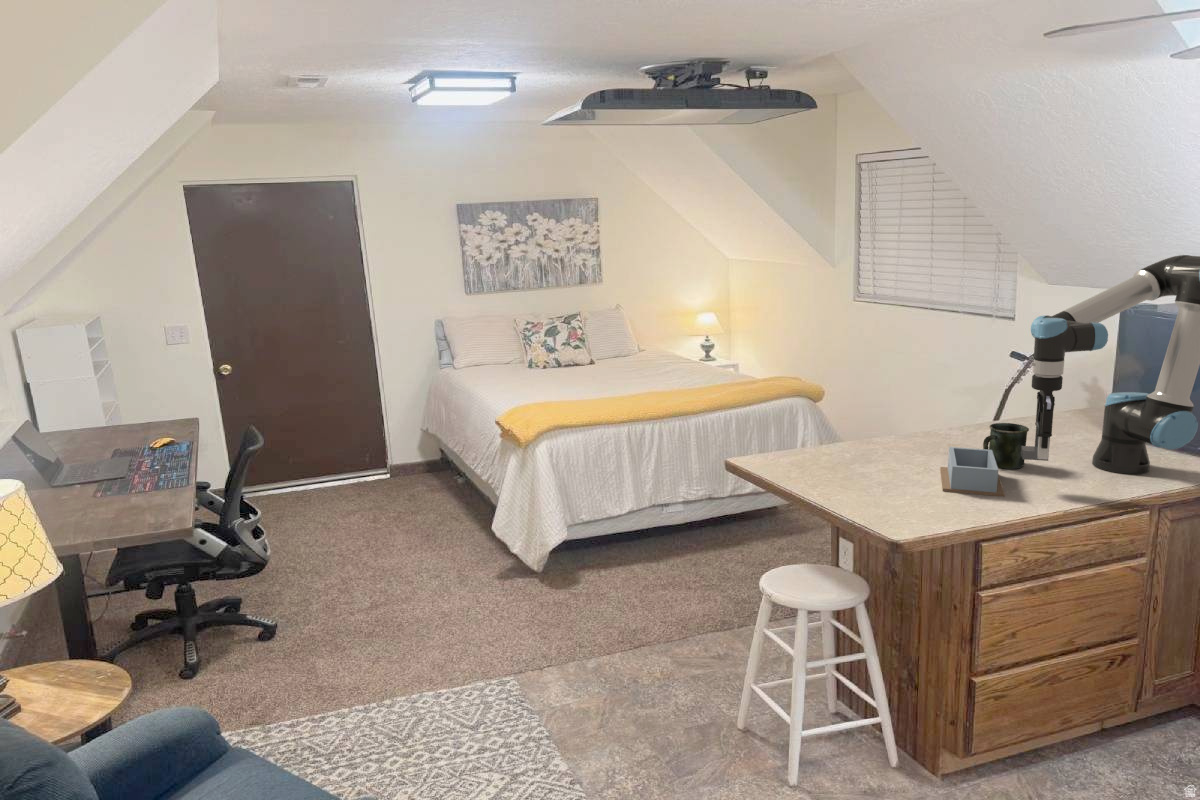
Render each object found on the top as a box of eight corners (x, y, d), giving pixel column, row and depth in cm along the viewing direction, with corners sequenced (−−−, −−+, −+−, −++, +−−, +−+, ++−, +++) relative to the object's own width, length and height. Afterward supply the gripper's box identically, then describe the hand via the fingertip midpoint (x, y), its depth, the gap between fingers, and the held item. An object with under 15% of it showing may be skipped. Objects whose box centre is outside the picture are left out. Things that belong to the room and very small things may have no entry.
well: (997, 473, 267) (999, 450, 266) (1004, 496, 248) (1006, 471, 246) (940, 469, 272) (942, 446, 271) (942, 491, 253) (944, 466, 251)
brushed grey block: (1045, 455, 253) (1048, 421, 251) (1048, 460, 248) (1051, 426, 246) (1020, 454, 255) (1022, 420, 253) (1022, 459, 250) (1025, 425, 248)
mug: (1033, 467, 273) (1037, 429, 270) (995, 473, 268) (999, 434, 265) (1006, 457, 283) (1009, 421, 280) (969, 463, 278) (972, 426, 275)
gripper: (1028, 367, 255) (1022, 446, 260) (1036, 381, 238) (1030, 464, 244) (1057, 368, 253) (1051, 447, 258) (1068, 382, 236) (1061, 466, 241)
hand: (1041, 455), depth 251 cm, fingers closed on brushed grey block, 5 cm apart
